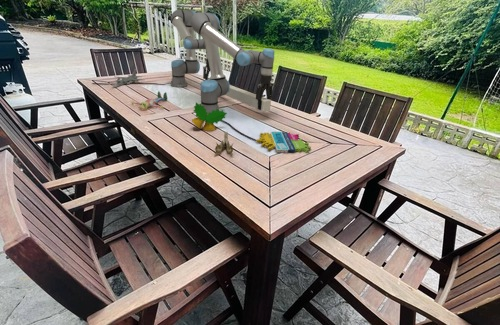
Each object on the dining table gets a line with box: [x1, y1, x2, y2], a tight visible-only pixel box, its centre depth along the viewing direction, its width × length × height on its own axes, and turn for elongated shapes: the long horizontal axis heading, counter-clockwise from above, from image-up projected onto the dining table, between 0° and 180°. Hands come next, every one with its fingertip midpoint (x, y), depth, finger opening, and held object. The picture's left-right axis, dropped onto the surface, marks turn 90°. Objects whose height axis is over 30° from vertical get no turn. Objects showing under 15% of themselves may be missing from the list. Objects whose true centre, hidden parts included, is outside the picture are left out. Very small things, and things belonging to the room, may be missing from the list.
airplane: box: [110, 68, 145, 89], centre depth 248 cm, size 38×31×10 cm
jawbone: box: [214, 131, 234, 156], centre depth 136 cm, size 9×15×10 cm
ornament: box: [191, 102, 228, 132], centre depth 162 cm, size 21×8×15 cm, turn 105°
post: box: [208, 77, 272, 112], centre depth 203 cm, size 77×6×7 cm, turn 39°
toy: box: [130, 91, 168, 111], centre depth 196 cm, size 28×7×30 cm
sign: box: [255, 131, 312, 154], centre depth 152 cm, size 26×2×30 cm
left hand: (210, 86), depth 228 cm, fingers closed on post, 6 cm apart
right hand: (262, 108), depth 182 cm, fingers closed on post, 6 cm apart
